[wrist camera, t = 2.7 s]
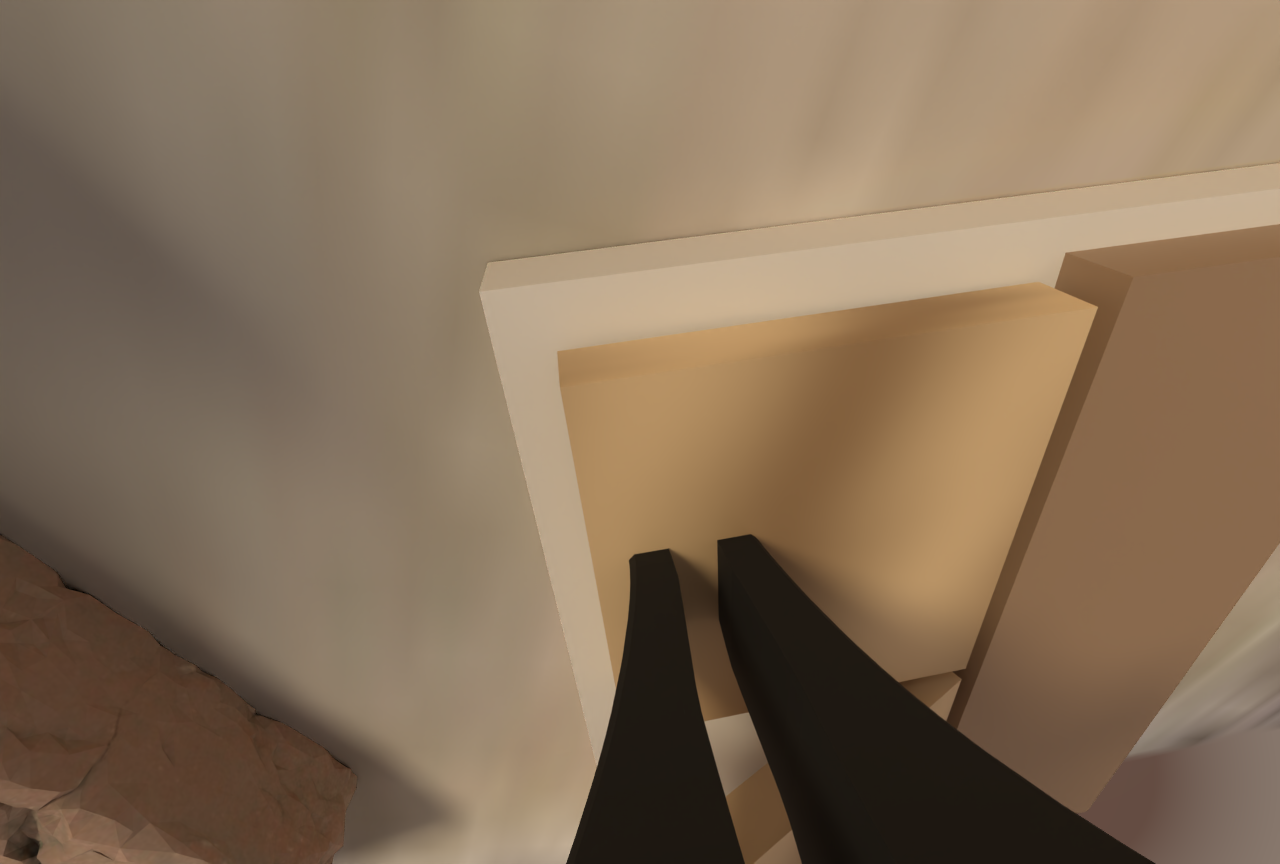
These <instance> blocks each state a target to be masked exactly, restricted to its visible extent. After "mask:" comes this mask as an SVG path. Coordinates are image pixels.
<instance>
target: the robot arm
mask: <svg viewBox="0 0 1280 864" xmlns="http://www.w3.org/2000/svg"><path fill="white" fill-rule="evenodd" d="M717 556H718V611H719V622H720V626H721V630H722V634H723V638H724V642H725V645H726V649H727V653H728V656H729V660H730V663H731V667H732V670H733V672H734V675H735V678H736V680H737V683H738V686H739V688H740V691H741V694H742V696H743V699H744V701H745V704H746V707H747V709H748V712H749V715H750V717H751V720H752V722H753V725H754V728H755V730H756V733H757V735H758V738H759V741H760V743H761V746H762V748H763V751H764V754H765V756H766V759H767V761H768V764H769V767H770V769H771V772H772V774H773V777H774V779H775V782H776V785H777V787H778V790H779V793H780V795H781V798H782V801H783V804H784V807H785V810H786V813H787V816H788V819H789V822H790V825H791V828H792V832H793V835H794V839H795V842H796V845H797V849H798V852H799V856H800V859H801V862H802V864H1155V863H1154V862H1152V861H1150V860H1149V859H1147V858H1145V857H1144V856H1142V855H1141V854H1139V853H1137V852H1136V851H1134V850H1132V849H1131V848H1129V847H1128V846H1126V845H1124V844H1123V843H1121V842H1120V841H1118V840H1116V839H1115V838H1113V837H1112V836H1110V835H1109V834H1107V833H1106V832H1104V831H1102V830H1101V829H1099V828H1098V827H1096V826H1095V825H1093V824H1092V823H1090V822H1089V821H1087V820H1085V819H1084V818H1082V817H1081V816H1079V815H1078V814H1076V813H1075V812H1073V811H1071V810H1070V809H1068V808H1067V807H1065V806H1064V805H1062V804H1061V803H1059V802H1058V801H1056V800H1055V799H1054V798H1052V797H1051V796H1049V795H1048V794H1046V793H1045V792H1044V791H1042V790H1041V789H1039V788H1038V787H1036V786H1035V785H1034V784H1032V783H1031V782H1029V781H1028V780H1026V779H1025V778H1023V777H1022V776H1021V775H1019V774H1018V773H1016V772H1015V771H1013V770H1012V769H1011V768H1009V767H1008V766H1006V765H1005V764H1003V763H1002V762H1001V761H999V760H998V759H996V758H995V757H993V756H992V755H991V754H989V753H988V752H986V751H985V750H983V749H982V748H981V747H979V746H978V745H977V744H975V743H974V742H973V741H971V740H970V739H969V738H968V737H966V736H965V735H964V734H962V733H961V732H960V731H958V730H957V729H956V728H954V727H953V726H952V725H951V724H949V723H948V722H947V721H945V720H944V719H943V718H941V717H940V716H939V715H938V714H936V713H935V712H934V711H933V710H931V709H930V708H929V707H928V706H927V705H925V704H924V703H923V702H922V701H920V700H919V699H918V698H917V697H915V696H914V695H913V694H912V693H911V692H909V691H908V690H907V689H906V688H905V687H903V686H902V685H901V684H900V683H899V682H898V681H896V680H895V679H894V678H893V677H892V676H891V675H890V674H888V673H887V672H886V671H885V670H884V669H883V668H882V667H880V666H879V665H878V664H877V663H876V662H875V661H874V660H873V659H872V658H871V657H869V656H868V655H867V654H866V653H865V652H864V651H863V650H862V649H861V648H860V647H859V646H857V645H856V644H855V643H854V642H853V641H852V640H851V639H850V638H849V637H848V636H847V635H846V634H845V633H844V632H843V631H842V630H841V629H840V628H839V627H838V626H837V625H836V624H835V623H834V622H833V621H832V620H831V619H830V618H829V617H828V616H827V615H826V614H825V613H824V612H823V611H822V610H821V609H820V608H819V607H818V606H817V605H816V604H815V603H814V602H813V601H812V600H811V599H810V598H809V597H808V596H807V595H806V594H805V593H804V592H803V591H802V590H801V588H800V587H799V586H798V585H797V584H796V583H795V582H794V581H793V580H792V579H791V577H790V576H789V575H788V574H787V573H786V572H785V571H784V570H783V569H782V567H781V566H780V565H779V564H778V563H777V562H776V561H775V559H774V558H773V557H772V556H771V555H770V554H769V552H768V551H767V550H766V549H765V548H764V546H763V545H762V544H761V543H760V542H759V540H758V539H757V538H756V537H755V536H753V535H752V534H748V535H742V536H737V537H731V538H726V539H720V540H717ZM629 566H630V599H629V611H628V621H627V628H626V635H625V642H624V650H623V657H622V662H621V668H620V673H619V677H618V682H617V687H616V692H615V697H614V701H613V706H612V711H611V715H610V719H609V724H608V728H607V732H606V736H605V739H604V743H603V747H602V751H601V754H600V758H599V762H598V765H597V769H596V772H595V776H594V779H593V783H592V786H591V789H590V792H589V796H588V799H587V802H586V805H585V808H584V811H583V815H582V818H581V821H580V824H579V827H578V830H577V833H576V836H575V839H574V842H573V845H572V848H571V851H570V854H569V857H568V860H567V863H566V864H745V862H744V858H743V855H742V852H741V848H740V845H739V842H738V838H737V835H736V831H735V828H734V824H733V821H732V817H731V814H730V811H729V807H728V804H727V800H726V797H725V793H724V790H723V786H722V783H721V779H720V776H719V772H718V769H717V765H716V762H715V758H714V755H713V751H712V747H711V744H710V740H709V737H708V733H707V729H706V726H705V722H704V719H703V715H702V711H701V706H700V702H699V697H698V692H697V688H696V682H695V676H694V670H693V663H692V657H691V651H690V645H689V639H688V632H687V626H686V620H685V614H684V608H683V602H682V596H681V589H680V583H679V577H678V574H677V571H676V568H675V565H674V562H673V559H672V556H671V553H670V550H669V548H668V549H663V550H657V551H651V552H645V553H639V554H634V555H633V556H632V557H631V558H630V559H629Z"/></svg>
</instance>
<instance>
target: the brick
mask: <svg viewBox="0 0 1280 864" xmlns="http://www.w3.org/2000/svg"><path fill="white" fill-rule="evenodd" d="M255 711H256V709H255V708H253V707H252V706H250V705H249V704H248V703H246V702H245V701H244V700H243V699H242V698H241V697H240V696H239V695H237V694H236V693H235V692H234V691H233V690H232V689H231V688H229V687H228V686H227V685H225V684H224V683H223V682H221V681H220V680H219V679H217V678H216V677H214V676H211V675H208V674H206V673H203V672H202V671H201V670H200V669H199V668H198V667H197V666H196V665H194V664H192V663H190V662H188V661H186V660H184V659H182V658H180V657H178V656H176V655H174V654H173V653H171V652H170V651H169V650H167V649H166V648H164V647H162V646H160V645H159V643H158V642H157V641H156V640H155V639H154V637H153V636H152V635H151V634H150V633H149V632H148V631H146V630H145V629H143V628H141V627H140V626H138V625H136V624H134V623H133V622H131V621H129V620H127V619H126V618H124V617H122V616H120V615H118V614H117V613H115V612H114V611H112V610H111V609H109V608H108V607H107V606H105V605H104V604H102V603H101V602H99V601H98V600H96V599H95V598H93V597H92V596H90V595H88V594H85V593H81V592H77V591H73V590H69V589H67V588H66V587H65V585H64V584H63V582H62V581H61V579H60V577H59V575H58V573H57V572H55V571H54V570H53V569H52V568H50V567H49V566H47V565H46V564H44V563H43V562H42V561H40V560H39V559H37V558H36V557H34V556H33V555H31V554H30V553H28V552H27V551H25V550H24V549H22V548H21V547H19V546H18V545H16V544H14V543H13V542H11V541H9V540H7V539H6V538H4V537H2V536H1V535H0V864H332V861H333V856H334V854H335V853H336V852H337V851H338V850H339V849H340V848H341V847H342V846H343V841H344V828H345V812H346V810H347V807H348V805H349V803H350V801H351V799H352V796H353V794H354V792H355V790H356V788H357V776H356V775H355V774H354V773H352V772H351V769H350V768H347V767H345V766H344V765H342V764H341V763H339V762H338V761H336V760H335V759H334V758H332V757H331V755H330V753H329V752H328V751H327V750H326V749H324V748H323V747H322V746H320V745H318V744H317V743H315V742H313V741H312V740H310V739H309V738H307V737H305V736H304V735H302V734H300V733H299V732H297V731H295V730H294V729H292V728H290V727H289V726H287V725H285V724H283V723H281V722H279V721H276V720H272V719H269V718H266V717H264V716H261V715H256V713H255Z"/></svg>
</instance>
